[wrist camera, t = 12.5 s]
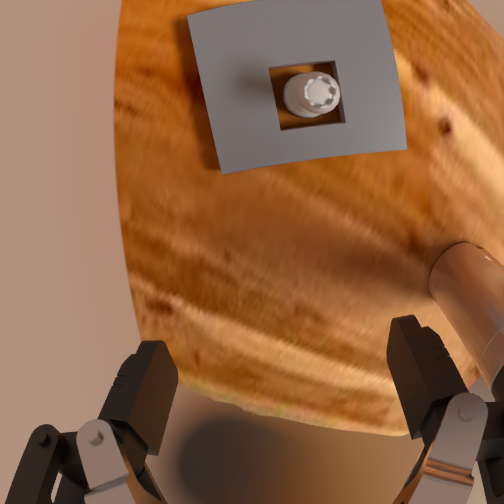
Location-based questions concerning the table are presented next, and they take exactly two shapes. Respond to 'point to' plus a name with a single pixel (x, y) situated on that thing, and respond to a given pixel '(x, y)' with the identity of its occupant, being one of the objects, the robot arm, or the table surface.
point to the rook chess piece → (311, 94)
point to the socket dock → (290, 55)
